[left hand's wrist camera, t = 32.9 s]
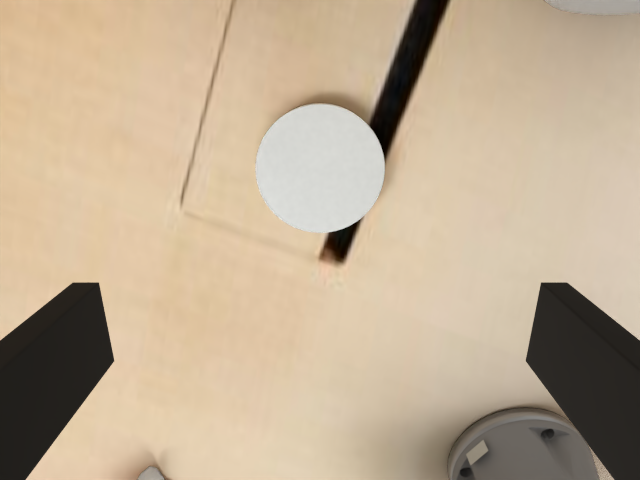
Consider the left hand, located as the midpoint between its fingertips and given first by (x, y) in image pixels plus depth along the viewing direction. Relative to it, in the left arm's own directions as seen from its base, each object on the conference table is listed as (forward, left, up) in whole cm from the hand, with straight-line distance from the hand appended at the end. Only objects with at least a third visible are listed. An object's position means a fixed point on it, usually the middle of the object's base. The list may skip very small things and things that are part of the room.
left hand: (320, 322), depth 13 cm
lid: (0, 0, -24) cm, 24 cm away
